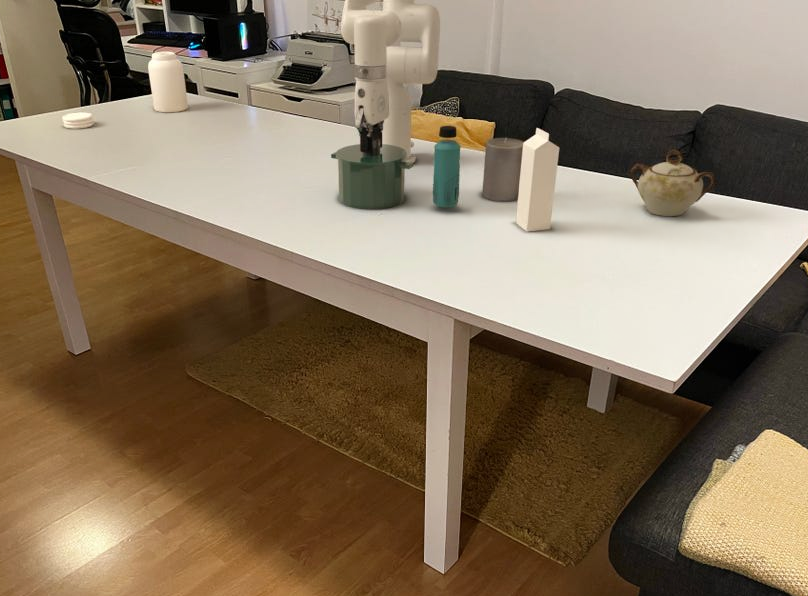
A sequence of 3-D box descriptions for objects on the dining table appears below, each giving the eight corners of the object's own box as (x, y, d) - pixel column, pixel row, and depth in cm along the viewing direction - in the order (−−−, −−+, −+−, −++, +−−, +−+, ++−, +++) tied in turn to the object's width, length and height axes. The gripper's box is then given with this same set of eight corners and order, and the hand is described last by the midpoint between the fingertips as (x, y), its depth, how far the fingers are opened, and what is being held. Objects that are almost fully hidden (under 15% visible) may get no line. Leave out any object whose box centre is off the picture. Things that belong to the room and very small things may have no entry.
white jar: (148, 112, 278) (139, 54, 268) (162, 105, 289) (154, 49, 279) (180, 113, 276) (172, 55, 266) (193, 106, 287) (186, 50, 277)
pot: (349, 183, 203) (348, 142, 197) (423, 195, 194) (425, 153, 189) (318, 201, 190) (316, 158, 185) (396, 214, 182) (396, 169, 176)
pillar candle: (497, 187, 200) (502, 130, 193) (527, 195, 194) (533, 137, 187) (474, 195, 194) (477, 137, 187) (504, 204, 188) (509, 144, 181)
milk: (526, 232, 172) (536, 135, 160) (515, 223, 177) (523, 128, 165) (550, 229, 173) (561, 132, 162) (538, 220, 178) (548, 126, 167)
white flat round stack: (73, 122, 265) (70, 111, 263) (99, 122, 263) (97, 112, 262) (58, 128, 256) (56, 118, 254) (86, 129, 255) (83, 119, 253)
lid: (357, 145, 197) (356, 126, 195) (418, 153, 191) (418, 134, 188) (322, 162, 184) (321, 142, 181) (387, 171, 177) (387, 151, 174)
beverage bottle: (456, 214, 182) (461, 130, 172) (429, 212, 183) (432, 129, 173) (459, 205, 188) (464, 124, 177) (433, 203, 189) (436, 122, 178)
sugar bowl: (616, 212, 183) (626, 151, 176) (633, 196, 194) (643, 137, 186) (700, 227, 174) (714, 163, 167) (713, 209, 185) (727, 148, 178)
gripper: (368, 79, 169) (369, 160, 178) (400, 68, 182) (399, 143, 191) (339, 77, 172) (341, 156, 181) (373, 65, 185) (373, 140, 194)
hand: (371, 149), depth 186 cm, fingers closed on lid, 4 cm apart
